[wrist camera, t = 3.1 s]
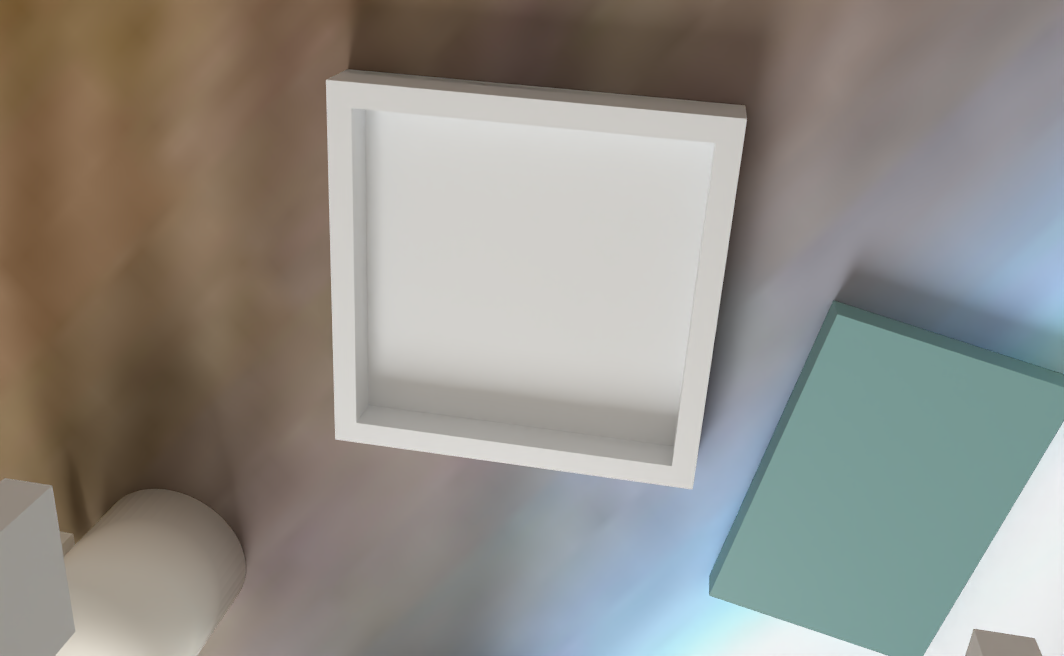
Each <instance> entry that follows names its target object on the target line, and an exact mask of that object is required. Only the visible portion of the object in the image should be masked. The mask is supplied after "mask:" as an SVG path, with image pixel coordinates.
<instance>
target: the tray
mask: <svg viewBox="0 0 1064 656" xmlns="http://www.w3.org/2000/svg"><path fill="white" fill-rule="evenodd" d="M326 99H327V138H328V177H329V215H330V254H331V292H332V331H333V370H334V408H335V439H337V440H344V441H351V442H358V443H365V444H372V445H380V446H387V447H394V448H401V449H408V450H415V451H422V452H429V453H437V454H444V455H451V456H458V457H465V458H472V459H479V460H486V461H494V462H501V463H508V464H515V465H522V466H529V467H536V468H543V469H551V470H558V471H565V472H572V473H579V474H586V475H593V476H600V477H608V478H615V479H622V480H629V481H636V482H643V483H650V484H657V485H665V486H672V487H679V488H686V489H693V483H694V476H695V469H696V462H697V456H698V449H699V442H700V435H701V428H702V422H703V415H704V408H705V401H706V394H707V388H708V381H709V374H710V367H711V360H712V354H713V347H714V340H715V333H716V326H717V320H718V313H719V306H720V299H721V292H722V286H723V279H724V272H725V265H726V258H727V252H728V245H729V238H730V231H731V224H732V218H733V211H734V204H735V197H736V190H737V184H738V177H739V170H740V163H741V156H742V150H743V143H744V136H745V129H746V122H747V115H746V108H745V105H736V104H725V103H714V102H703V101H692V100H681V99H670V98H659V97H648V96H637V95H626V94H615V93H604V92H593V91H582V90H571V89H561V88H550V87H539V86H528V85H517V84H506V83H495V82H484V81H473V80H462V79H451V78H440V77H429V76H418V75H407V74H396V73H385V72H374V71H363V70H352V69H347V70H345V71H343V72H341V73H339V74H337V75H335V76H333V77H331V78H329V79H327V80H326Z"/></svg>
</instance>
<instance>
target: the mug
mask: <svg viewBox="0 0 1064 656" xmlns="http://www.w3.org/2000/svg"><path fill="white" fill-rule="evenodd" d="M60 538H61V544H62V550H63V557H64V563H65V569H66V575H67V582H68V588H69V594H70V600H71V607H72V613H73V619H74V625H75V633H74V634H73V635H72V636H71V637H70V639H69V640H68V641H67V642H66V643H65V644H64V646H63V647H62V648H61V649H60V650H59V651H58V653H57V654H56V655H55V656H197V655H198V654H199V652H200V651H201V649H202V648H203V646H204V645H205V643H206V642H207V640H208V639H209V637H210V636H211V634H212V633H213V631H214V630H215V628H216V627H217V625H218V624H219V622H220V621H221V620H222V618H223V617H224V615H225V614H226V612H227V611H228V609H229V608H230V606H231V605H232V603H233V602H234V600H235V599H236V597H237V596H238V594H239V593H240V591H241V589H242V587H243V584H244V581H245V576H246V562H245V556H244V553H243V549H242V547H241V544H240V542H239V540H238V538H237V537H236V535H235V533H234V532H233V530H232V529H231V528H230V526H229V525H228V524H227V523H226V522H225V521H224V519H223V518H222V517H221V516H220V515H218V514H217V513H216V512H215V511H214V510H213V509H211V508H210V507H208V506H207V505H205V504H204V503H202V502H200V501H199V500H197V499H195V498H193V497H190V496H188V495H186V494H182V493H179V492H176V491H171V490H166V489H145V490H139V491H136V492H133V493H130V494H128V495H126V496H124V497H123V498H121V499H120V500H119V501H117V502H116V503H115V504H114V505H113V506H112V507H111V508H110V509H109V511H108V512H107V513H106V514H105V515H104V516H103V517H102V518H101V519H100V520H99V521H98V522H97V523H96V524H95V525H94V526H93V527H92V528H91V529H90V530H89V531H88V532H87V533H86V534H85V535H84V536H83V537H82V538H81V539H80V540H79V541H78V542H77V543H76V544H75V543H74V536H73V534H72V533H66V532H60Z"/></svg>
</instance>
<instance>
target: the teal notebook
mask: <svg viewBox="0 0 1064 656" xmlns="http://www.w3.org/2000/svg"><path fill="white" fill-rule="evenodd" d="M1063 421H1064V374H1061V373H1058V372H1055V371H1051V370H1048V369H1045V368H1042V367H1039V366H1036V365H1033V364H1030V363H1027V362H1023V361H1020V360H1017V359H1014V358H1011V357H1008V356H1005V355H1002V354H999V353H996V352H992V351H989V350H986V349H983V348H980V347H977V346H974V345H971V344H968V343H964V342H961V341H958V340H955V339H952V338H949V337H946V336H943V335H940V334H936V333H933V332H930V331H927V330H924V329H921V328H918V327H915V326H912V325H909V324H905V323H902V322H899V321H896V320H893V319H890V318H887V317H884V316H881V315H877V314H874V313H871V312H868V311H865V310H862V309H859V308H856V307H853V306H849V305H846V304H843V303H840V302H837V301H833V303H832V305H831V307H830V309H829V312H828V314H827V316H826V318H825V321H824V323H823V325H822V327H821V329H820V332H819V334H818V336H817V338H816V341H815V343H814V345H813V347H812V349H811V352H810V354H809V356H808V358H807V361H806V363H805V365H804V367H803V369H802V372H801V374H800V376H799V378H798V381H797V383H796V385H795V387H794V389H793V392H792V394H791V396H790V398H789V400H788V403H787V405H786V407H785V409H784V412H783V414H782V416H781V418H780V420H779V423H778V425H777V427H776V429H775V432H774V434H773V436H772V438H771V440H770V443H769V445H768V447H767V449H766V452H765V454H764V456H763V458H762V460H761V463H760V465H759V467H758V469H757V472H756V474H755V476H754V478H753V480H752V483H751V485H750V487H749V489H748V492H747V494H746V496H745V498H744V500H743V503H742V505H741V507H740V509H739V512H738V514H737V516H736V518H735V520H734V523H733V525H732V527H731V529H730V531H729V534H728V536H727V538H726V540H725V543H724V545H723V547H722V549H721V551H720V554H719V556H718V558H717V560H716V563H715V565H714V567H713V569H712V571H711V574H710V576H709V595H710V596H712V597H715V598H718V599H721V600H724V601H727V602H730V603H733V604H736V605H739V606H742V607H745V608H748V609H751V610H754V611H757V612H760V613H763V614H766V615H769V616H772V617H775V618H778V619H781V620H784V621H787V622H790V623H793V624H796V625H799V626H802V627H805V628H808V629H811V630H814V631H817V632H820V633H823V634H826V635H829V636H832V637H835V638H838V639H841V640H844V641H846V642H849V643H852V644H855V645H858V646H861V647H864V648H867V649H870V650H873V651H876V652H879V653H882V654H885V655H888V656H923V655H924V653H925V652H926V650H927V648H928V647H929V645H930V643H931V642H932V640H933V638H934V637H935V635H936V633H937V632H938V630H939V628H940V627H941V625H942V623H943V622H944V620H945V618H946V617H947V615H948V613H949V612H950V610H951V608H952V607H953V605H954V603H955V602H956V600H957V598H958V597H959V595H960V593H961V592H962V590H963V588H964V587H965V585H966V583H967V582H968V580H969V578H970V577H971V575H972V573H973V572H974V570H975V568H976V567H977V565H978V563H979V562H980V560H981V558H982V557H983V555H984V553H985V552H986V550H987V548H988V547H989V545H990V543H991V542H992V540H993V538H994V537H995V535H996V533H997V532H998V530H999V528H1000V527H1001V525H1002V523H1003V521H1004V520H1005V518H1006V516H1007V515H1008V513H1009V511H1010V510H1011V508H1012V506H1013V505H1014V503H1015V501H1016V500H1017V498H1018V496H1019V495H1020V493H1021V491H1022V490H1023V488H1024V486H1025V485H1026V483H1027V481H1028V480H1029V478H1030V476H1031V475H1032V473H1033V471H1034V470H1035V468H1036V466H1037V465H1038V463H1039V461H1040V460H1041V458H1042V456H1043V455H1044V453H1045V451H1046V450H1047V448H1048V446H1049V445H1050V443H1051V441H1052V440H1053V438H1054V436H1055V435H1056V433H1057V431H1058V430H1059V428H1060V426H1061V425H1062V423H1063Z"/></svg>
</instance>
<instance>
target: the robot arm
mask: <svg viewBox="0 0 1064 656" xmlns="http://www.w3.org/2000/svg"><path fill="white" fill-rule="evenodd" d="M74 633H75V625H74V619H73V613H72V607H71V600H70V594H69V588H68V582H67V575H66V569H65V563H64V557H63V550H62V544H61V538H60V532H59V525H58V519H57V513H56V507H55V500H54V494H53V488H52V485H45V484H39V483H32V482H26V481H20V480H13V479H7V478H4V479H3V480H2V481H1V482H0V656H55V655H56V654H57V653H58V651H59V650H60V649H61V648H62V647H63V646H64V644H65V643H66V642H67V641H68V640H69V639H70V637H71V636H72V635H73V634H74ZM966 656H1042V654H1041V652H1040V650H1039V647H1038V645H1037V643H1036V640H1035V638H1029V637H1023V636H1017V635H1010V634H1004V633H997V632H991V631H984V630H978V629H974V630H973V633H972V636H971V639H970V643H969V646H968V649H967V652H966Z"/></svg>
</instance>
